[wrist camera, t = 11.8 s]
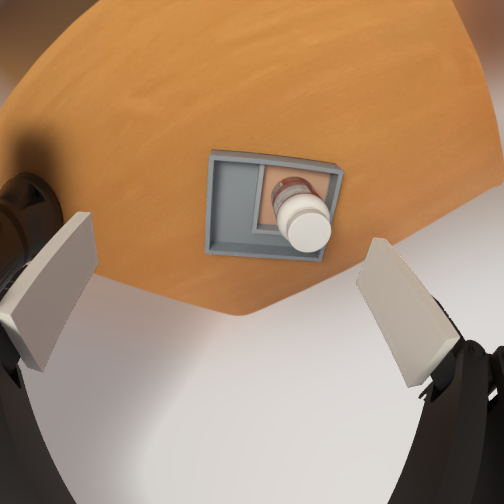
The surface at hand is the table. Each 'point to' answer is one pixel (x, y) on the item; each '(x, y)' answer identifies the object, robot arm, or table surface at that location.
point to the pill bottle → (301, 214)
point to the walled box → (259, 202)
